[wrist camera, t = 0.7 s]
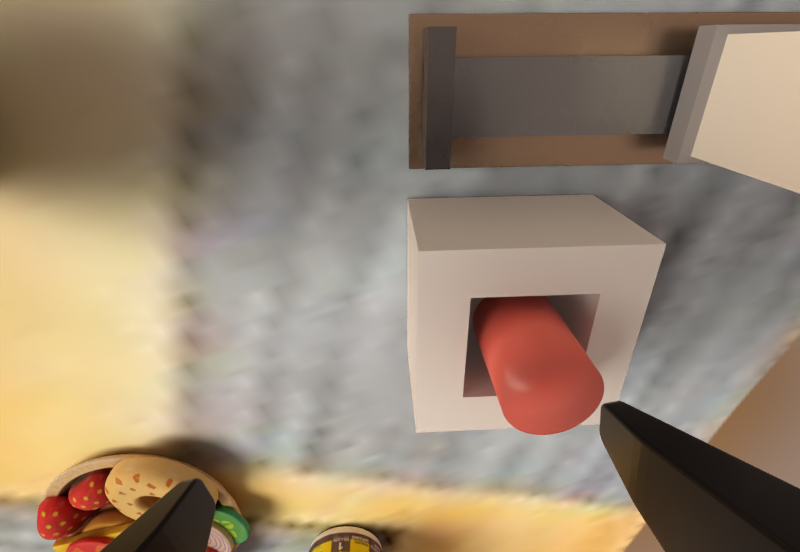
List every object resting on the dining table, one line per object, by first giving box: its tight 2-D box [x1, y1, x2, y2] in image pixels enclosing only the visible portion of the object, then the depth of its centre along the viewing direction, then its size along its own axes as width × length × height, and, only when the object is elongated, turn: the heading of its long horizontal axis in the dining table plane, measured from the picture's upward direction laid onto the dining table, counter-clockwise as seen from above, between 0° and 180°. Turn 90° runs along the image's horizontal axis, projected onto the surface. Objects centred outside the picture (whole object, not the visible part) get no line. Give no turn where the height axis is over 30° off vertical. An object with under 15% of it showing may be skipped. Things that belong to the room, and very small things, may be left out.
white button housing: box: [407, 194, 666, 433], centre depth 20 cm, size 9×9×6 cm
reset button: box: [473, 295, 604, 435], centre depth 17 cm, size 4×4×5 cm
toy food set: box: [37, 453, 251, 552], centre depth 29 cm, size 13×13×3 cm
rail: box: [409, 12, 800, 170], centre depth 18 cm, size 18×6×2 cm, turn 90°
